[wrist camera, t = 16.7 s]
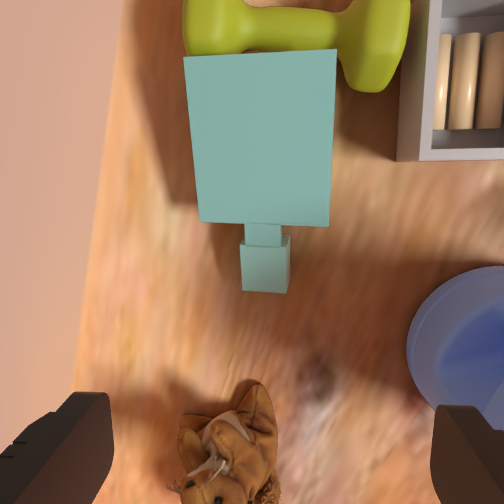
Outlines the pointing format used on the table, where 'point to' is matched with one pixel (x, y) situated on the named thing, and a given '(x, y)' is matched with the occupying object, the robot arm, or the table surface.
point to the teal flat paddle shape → (263, 150)
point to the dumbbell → (304, 34)
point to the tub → (452, 82)
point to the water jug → (462, 344)
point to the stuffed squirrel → (231, 454)
